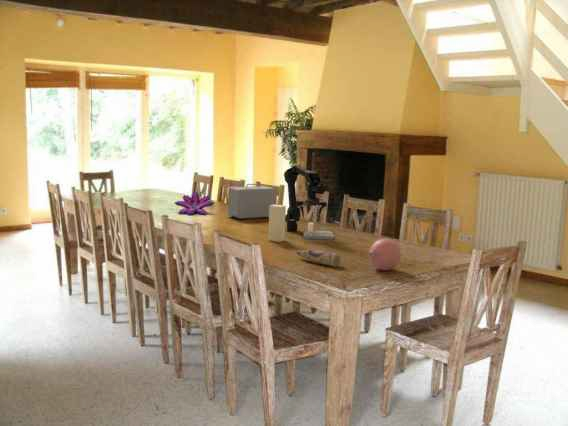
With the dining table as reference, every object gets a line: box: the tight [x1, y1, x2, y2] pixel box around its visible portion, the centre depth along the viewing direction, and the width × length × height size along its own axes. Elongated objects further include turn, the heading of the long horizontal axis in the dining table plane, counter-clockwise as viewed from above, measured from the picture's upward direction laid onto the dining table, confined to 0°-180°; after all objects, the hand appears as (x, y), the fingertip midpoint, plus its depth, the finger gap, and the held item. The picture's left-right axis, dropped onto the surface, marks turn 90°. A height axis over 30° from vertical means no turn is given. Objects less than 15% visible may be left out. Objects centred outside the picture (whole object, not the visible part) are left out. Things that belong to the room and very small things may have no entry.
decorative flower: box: [174, 191, 215, 216], centre depth 448 cm, size 31×31×10 cm
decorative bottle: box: [296, 248, 342, 268], centre depth 299 cm, size 26×8×7 cm, turn 48°
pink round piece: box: [366, 238, 402, 271], centre depth 285 cm, size 15×20×15 cm
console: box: [302, 230, 335, 240], centre depth 367 cm, size 18×16×3 cm
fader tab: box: [306, 222, 315, 232], centre depth 366 cm, size 4×5×6 cm
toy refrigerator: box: [267, 204, 287, 243], centre depth 350 cm, size 8×7×21 cm
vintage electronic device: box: [227, 183, 278, 221], centre depth 433 cm, size 32×18×25 cm, turn 121°
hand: (310, 217), depth 365 cm, fingers open, 9 cm apart
